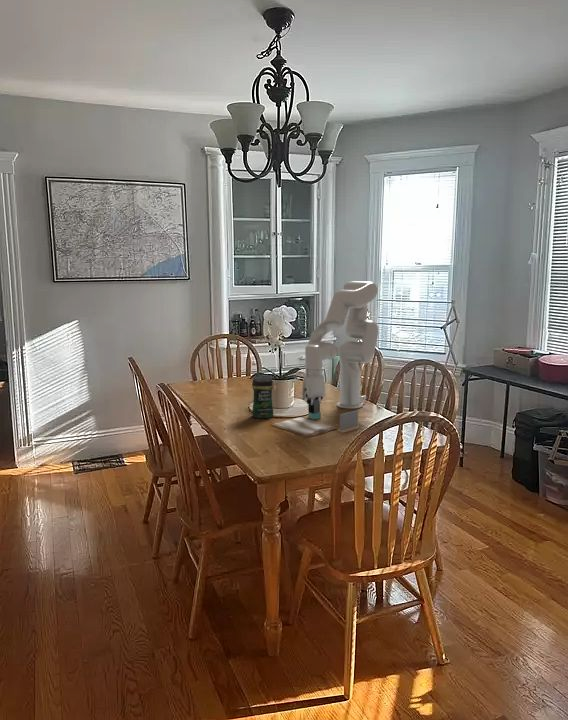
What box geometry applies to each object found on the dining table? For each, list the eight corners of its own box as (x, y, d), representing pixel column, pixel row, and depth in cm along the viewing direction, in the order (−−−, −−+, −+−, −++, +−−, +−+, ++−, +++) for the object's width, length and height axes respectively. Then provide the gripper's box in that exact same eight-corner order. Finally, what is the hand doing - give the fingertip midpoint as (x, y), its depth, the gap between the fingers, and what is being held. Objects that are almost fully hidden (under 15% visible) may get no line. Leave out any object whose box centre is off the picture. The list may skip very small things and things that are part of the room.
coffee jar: (253, 419, 262) (252, 379, 259) (251, 414, 270) (250, 375, 267) (274, 418, 264) (274, 378, 260) (272, 413, 272) (271, 374, 268)
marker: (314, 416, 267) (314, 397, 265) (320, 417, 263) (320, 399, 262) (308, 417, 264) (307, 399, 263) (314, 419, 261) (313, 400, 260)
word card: (354, 426, 250) (354, 409, 249) (359, 428, 248) (359, 410, 246) (337, 431, 244) (337, 413, 242) (342, 432, 241) (343, 415, 240)
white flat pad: (301, 418, 264) (301, 414, 264) (337, 429, 246) (337, 425, 246) (271, 425, 253) (271, 421, 253) (306, 437, 236) (306, 433, 235)
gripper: (321, 368, 268) (321, 407, 271) (294, 373, 258) (294, 413, 261) (332, 371, 262) (332, 410, 266) (305, 376, 252) (306, 417, 256)
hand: (314, 411), depth 263 cm, fingers closed on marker, 2 cm apart
